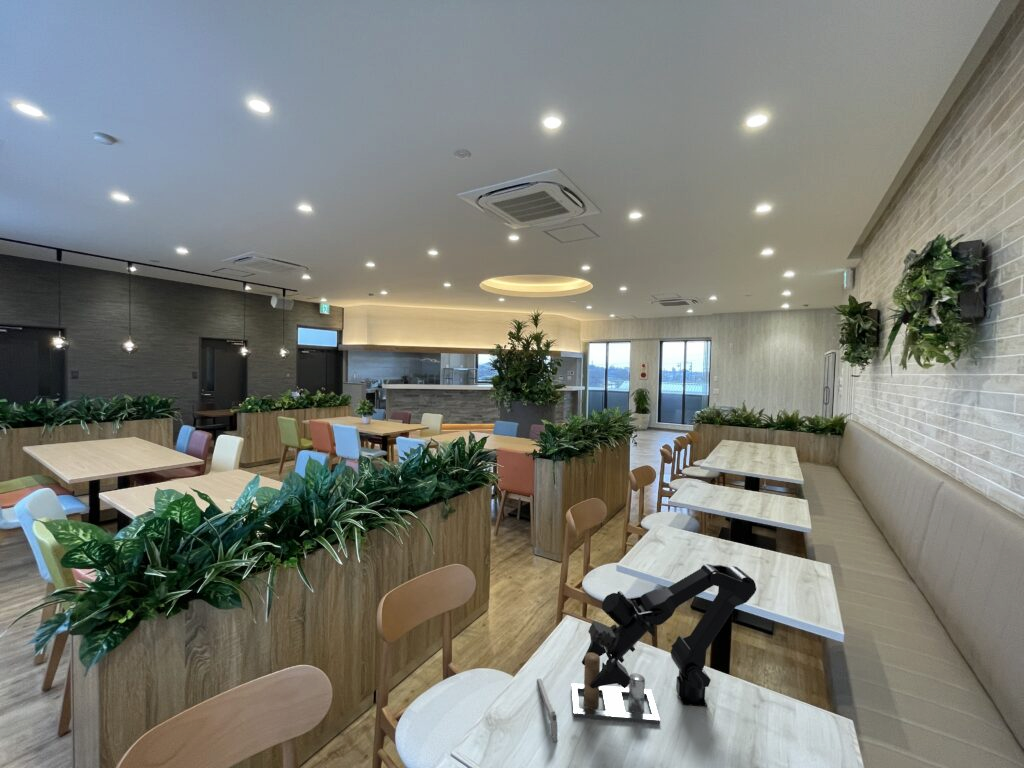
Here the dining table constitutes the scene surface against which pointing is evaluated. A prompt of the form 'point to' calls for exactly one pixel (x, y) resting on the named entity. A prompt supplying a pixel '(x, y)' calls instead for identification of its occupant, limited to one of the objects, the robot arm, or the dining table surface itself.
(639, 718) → the plate
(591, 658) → the walnut pin
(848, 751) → the dining table surface
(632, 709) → the steel pin
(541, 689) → the caliper
